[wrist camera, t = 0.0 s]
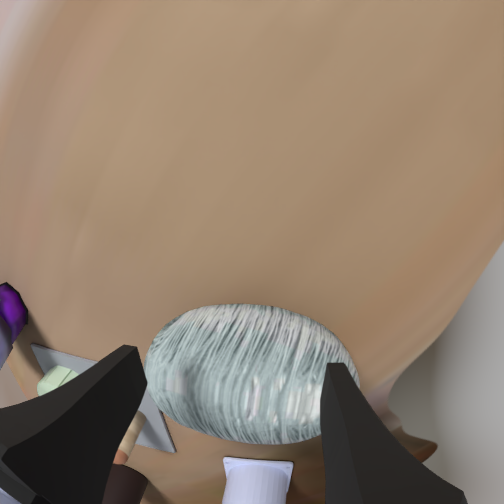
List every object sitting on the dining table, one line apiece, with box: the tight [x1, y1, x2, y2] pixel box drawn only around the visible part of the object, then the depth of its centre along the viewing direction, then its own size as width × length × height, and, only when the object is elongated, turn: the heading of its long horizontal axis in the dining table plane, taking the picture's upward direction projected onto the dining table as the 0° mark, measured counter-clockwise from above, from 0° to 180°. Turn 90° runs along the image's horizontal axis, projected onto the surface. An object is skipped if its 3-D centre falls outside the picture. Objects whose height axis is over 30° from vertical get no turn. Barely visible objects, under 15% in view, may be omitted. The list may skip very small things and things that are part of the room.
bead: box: [37, 365, 79, 396], centre depth 27 cm, size 8×8×3 cm
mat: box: [31, 343, 176, 453], centre depth 28 cm, size 14×16×1 cm
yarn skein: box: [144, 304, 360, 444], centre depth 19 cm, size 14×10×10 cm
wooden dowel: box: [113, 410, 146, 464], centre depth 24 cm, size 2×2×7 cm
